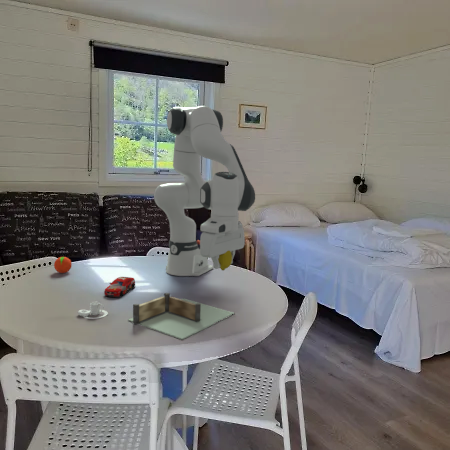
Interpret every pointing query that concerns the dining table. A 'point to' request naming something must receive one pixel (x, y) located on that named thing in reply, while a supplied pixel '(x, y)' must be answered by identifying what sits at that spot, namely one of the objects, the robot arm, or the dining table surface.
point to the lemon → (225, 260)
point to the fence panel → (184, 308)
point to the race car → (120, 286)
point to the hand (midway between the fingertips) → (223, 266)
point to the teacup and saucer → (93, 310)
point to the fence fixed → (150, 308)
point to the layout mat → (184, 321)
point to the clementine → (62, 264)
